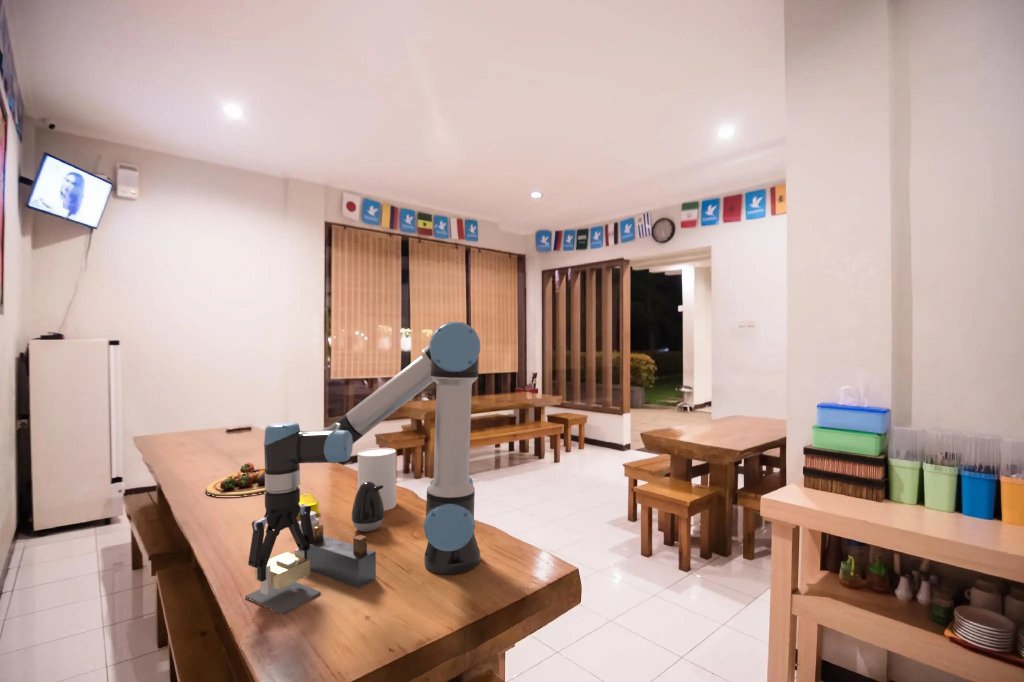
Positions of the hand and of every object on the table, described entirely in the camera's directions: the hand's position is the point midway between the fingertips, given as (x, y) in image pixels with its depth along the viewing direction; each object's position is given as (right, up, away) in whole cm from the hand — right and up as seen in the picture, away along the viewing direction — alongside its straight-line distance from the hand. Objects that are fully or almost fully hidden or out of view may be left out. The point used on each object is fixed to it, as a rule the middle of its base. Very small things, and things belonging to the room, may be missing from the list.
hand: (283, 584), depth 112 cm
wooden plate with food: (-58, -5, +90) cm, 107 cm away
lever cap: (0, +2, 0) cm, 2 cm away
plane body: (+9, -3, +11) cm, 14 cm away
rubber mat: (0, -3, 0) cm, 3 cm away
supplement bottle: (-5, -3, +26) cm, 27 cm away
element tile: (-24, -4, +57) cm, 61 cm away
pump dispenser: (+8, -3, +41) cm, 42 cm away
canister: (+5, -3, +62) cm, 63 cm away
